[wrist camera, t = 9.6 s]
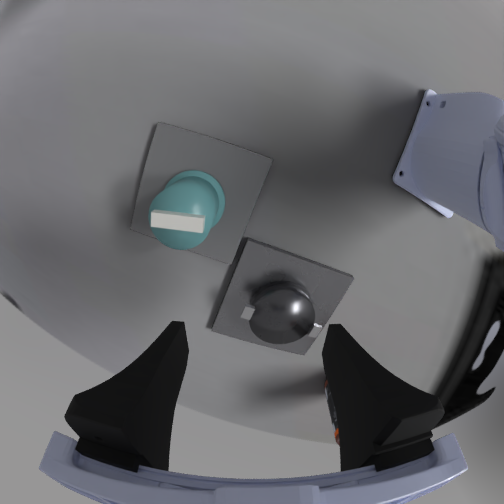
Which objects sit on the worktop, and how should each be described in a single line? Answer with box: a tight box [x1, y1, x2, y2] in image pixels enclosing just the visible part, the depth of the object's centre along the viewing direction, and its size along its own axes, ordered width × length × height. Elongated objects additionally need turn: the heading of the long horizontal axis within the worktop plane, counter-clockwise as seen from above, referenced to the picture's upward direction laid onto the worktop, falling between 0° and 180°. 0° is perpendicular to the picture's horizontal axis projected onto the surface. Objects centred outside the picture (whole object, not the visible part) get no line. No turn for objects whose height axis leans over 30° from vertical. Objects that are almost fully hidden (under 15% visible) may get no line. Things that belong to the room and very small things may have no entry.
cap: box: [148, 170, 225, 250], centre depth 18 cm, size 5×5×5 cm
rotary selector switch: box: [212, 238, 354, 355], centre depth 23 cm, size 10×10×3 cm
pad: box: [130, 122, 273, 265], centre depth 20 cm, size 9×9×1 cm
